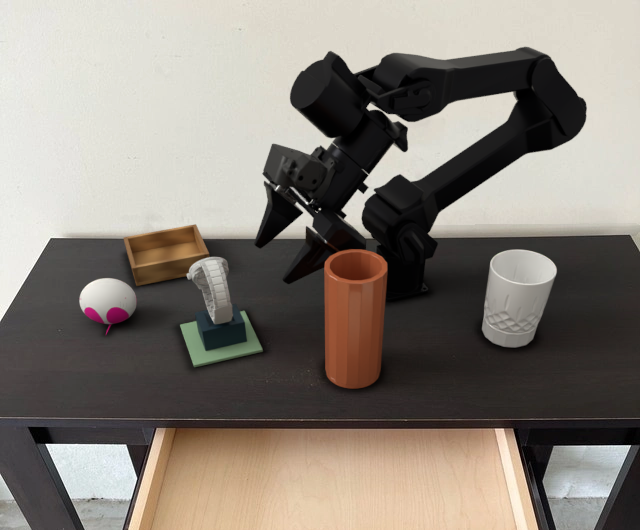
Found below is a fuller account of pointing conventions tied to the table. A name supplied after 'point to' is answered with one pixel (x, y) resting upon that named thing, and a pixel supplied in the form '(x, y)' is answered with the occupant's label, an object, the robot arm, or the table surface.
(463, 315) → the table surface
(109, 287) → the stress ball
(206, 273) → the watch
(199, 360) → the mat
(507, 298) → the white cup
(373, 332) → the vase
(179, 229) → the wooden box
